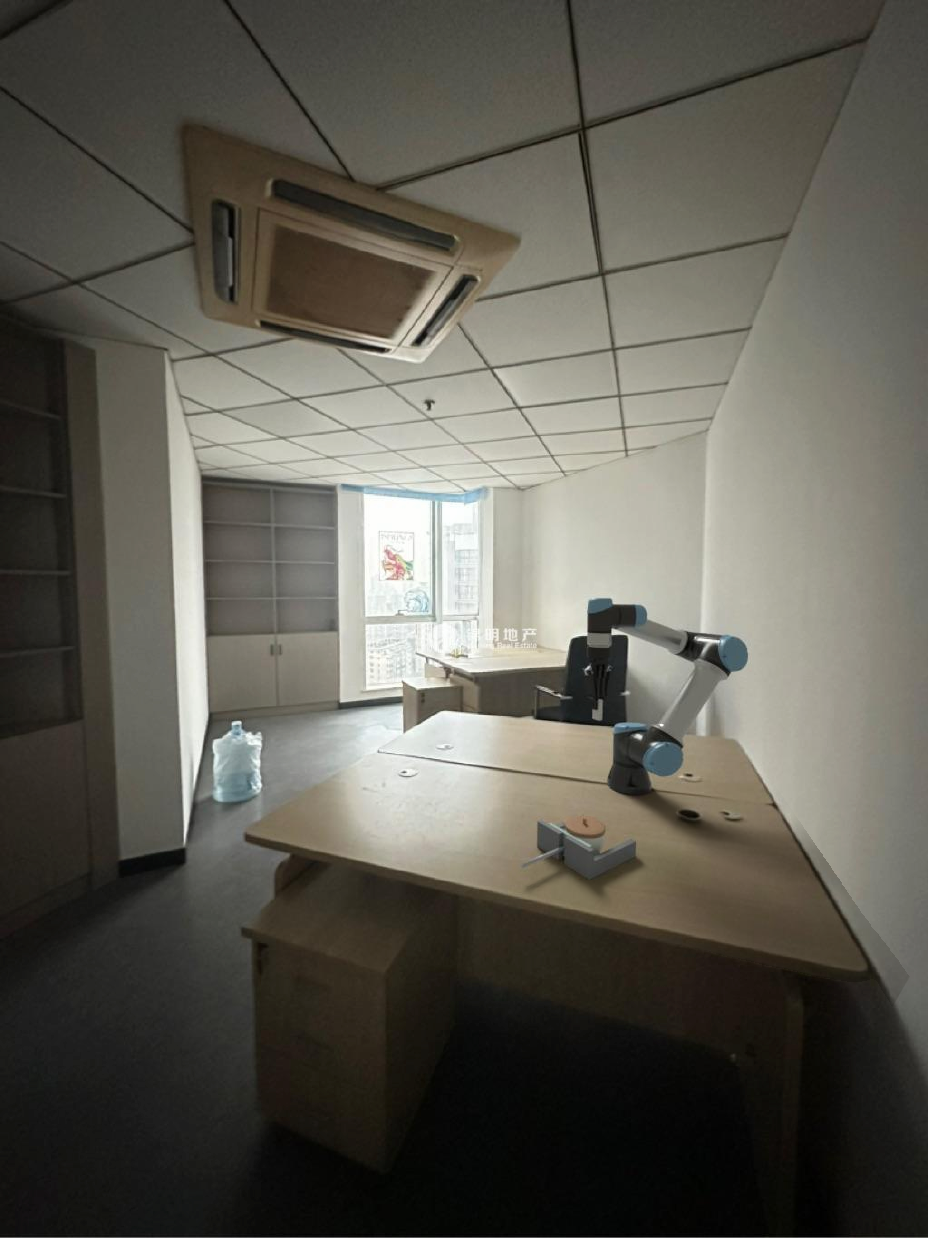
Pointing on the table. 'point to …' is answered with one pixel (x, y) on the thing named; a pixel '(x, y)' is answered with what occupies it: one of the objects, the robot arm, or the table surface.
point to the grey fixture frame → (582, 851)
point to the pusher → (553, 850)
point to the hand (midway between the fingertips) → (597, 719)
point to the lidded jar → (586, 830)
